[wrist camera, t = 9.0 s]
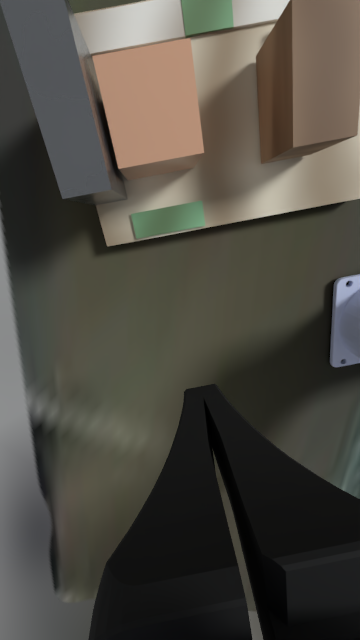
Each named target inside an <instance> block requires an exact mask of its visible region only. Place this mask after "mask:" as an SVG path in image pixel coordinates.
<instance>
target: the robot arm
mask: <svg viewBox="0 0 360 640" xmlns="http://www.w3.org/2000/svg"><path fill="white" fill-rule="evenodd" d="M348 281H349V284H348V285H347V286H346V283H347V282H348ZM341 360H343V361H341ZM357 363H360V274H357V275H352V276H347V277H342V278H338V279H337V280H336V281H335V282H334V289H333V309H332V328H331V348H330V364H331V365H332V366H333V367H342V366H347V365H352V364H357ZM212 448H213V450H212ZM213 451H214V454H215V457H216V460H217V463H218V466H219V470H220V473H221V476H222V479H223V482H224V485H225V488H226V491H227V494H228V497H229V500H230V503H231V507H232V510H233V514H234V518H235V522H236V526H237V530H238V534H239V538H240V542H241V547H242V551H243V555H244V559H245V563H246V567H247V572H248V576H249V580H250V584H251V588H252V593H253V597H254V601H255V605H256V610H257V614H258V618H259V622H260V626H261V631H262V635H263V639H264V640H360V499H358V498H356V497H354V496H352V495H350V494H349V493H347V492H345V491H343V490H341V489H339V488H337V487H336V486H334V485H332V484H331V483H329V482H327V481H326V480H324V479H322V478H321V477H319V476H317V475H316V474H314V473H313V472H311V471H310V470H308V469H307V468H305V467H304V466H302V465H301V464H299V463H298V462H296V461H295V460H293V459H292V458H291V457H289V456H288V455H287V454H285V453H284V452H283V451H281V450H280V449H279V448H277V447H276V446H275V445H274V444H272V443H271V442H270V441H269V440H267V439H266V438H265V437H264V436H263V435H262V434H260V433H259V432H258V431H257V430H256V429H255V428H254V427H253V426H252V425H251V424H250V423H249V422H248V421H247V420H246V419H245V418H244V417H243V416H242V415H241V414H240V413H239V412H238V411H237V410H236V409H235V408H234V407H233V406H232V404H231V403H230V402H229V401H228V400H227V398H226V397H225V396H224V395H223V393H222V392H221V391H220V389H219V388H218V386H217V385H215V384H211V385H206V386H201V387H196V388H191V389H186V390H185V392H184V403H183V409H182V414H181V418H180V422H179V426H178V429H177V432H176V435H175V438H174V441H173V444H172V447H171V450H170V453H169V455H168V458H167V460H166V462H165V465H164V467H163V469H162V471H161V473H160V475H159V478H158V480H157V482H156V484H155V486H154V488H153V490H152V492H151V493H150V495H149V497H148V499H147V501H146V502H145V504H144V506H143V507H142V509H141V511H140V513H139V514H138V516H137V518H136V519H135V521H134V523H133V524H132V526H131V527H130V529H129V531H128V532H127V533H126V535H125V536H124V538H123V539H122V541H121V542H120V544H119V545H118V547H117V548H116V550H115V551H114V553H113V554H112V555H111V557H110V558H109V560H108V561H107V563H106V566H105V569H104V572H103V575H102V578H101V582H100V585H99V589H98V593H97V597H96V601H95V605H94V609H93V615H92V621H91V628H90V634H89V640H252V634H251V628H250V622H249V615H248V608H247V603H246V598H245V594H244V589H243V585H242V580H241V576H240V572H239V567H238V563H237V559H236V555H235V551H234V547H233V543H232V539H231V535H230V531H229V527H228V523H227V519H226V515H225V511H224V507H223V503H222V498H221V494H220V490H219V486H218V482H217V478H216V473H215V465H214V458H213Z"/></svg>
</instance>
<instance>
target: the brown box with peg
mask: <svg viewBox="0 0 360 640" xmlns="http://www.w3.org/2000/svg"><path fill="white" fill-rule="evenodd" d="M256 72H257V92H258V113H259V133H260V153H261V164H265V163H270V162H275V161H280V160H286V159H291V158H296V157H301V156H307V155H311V154H313V153H316V152H318V151H321V150H323V149H326V148H328V147H330V146H333V145H335V144H338V143H340V142H343V141H345V140H347V139H350V138H352V137H355V136H357V134H358V120H359V106H360V0H290V1H289V2H288V4H287V6H286V7H285V9H284V11H283V12H282V14H281V16H280V17H279V19H278V21H277V22H276V24H275V25H274V27H273V29H272V30H271V32H270V34H269V35H268V37H267V39H266V40H265V42H264V44H263V45H262V47H261V49H260V50H259V52H258V53H257V55H256Z"/></svg>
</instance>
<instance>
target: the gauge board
mask: <svg viewBox="0 0 360 640" xmlns="http://www.w3.org/2000/svg"><path fill="white" fill-rule="evenodd" d="M289 1H290V0H147V1H141V2H136V3H130V4H125V5H119V6H114V7H109V8H103V9H98V10H92V11H87V12H81V13H76V14H74V16H75V18H76V21H77V23H78V25H79V28H80V30H81V33H82V35H83V37H84V40H85V42H86V45H87V47H88V49H89V52H90V54H91V57H92V56H95V55H100V54H106V53H111V52H117V51H122V50H127V49H133V48H138V47H144V46H149V45H154V44H160V43H165V42H171V41H176V40H181V39H187V38H190V39H191V47H192V55H193V64H194V72H195V80H196V89H197V97H198V105H199V114H200V122H201V130H202V139H203V147H204V154H203V155H202V157H201V158H200V159H199V161H198V162H197V164H196V165H195V166H194V168H191V169H186V170H181V171H175V172H170V173H165V174H159V175H154V176H149V177H144V178H138V179H133V180H127V179H126V177H125V176H124V175H123V174H122V176H123V180H124V185H125V189H126V193H127V198H128V199H127V200H122V201H116V202H111V203H106V204H101V205H96V208H97V211H98V215H99V219H100V222H101V226H102V230H103V233H104V237H105V241H106V244H107V247H108V246H114V245H119V244H124V243H129V242H135V241H140V240H145V239H150V238H156V237H161V236H166V235H171V234H176V233H182V232H187V231H192V230H197V229H203V228H208V227H213V226H218V225H224V224H229V223H234V222H239V221H244V220H250V219H255V218H260V217H265V216H271V215H276V214H281V213H286V212H292V211H297V210H302V209H307V208H312V207H318V206H323V205H328V204H333V203H339V202H344V201H349V200H354V199H360V106H359V120H358V134H357V136H355V137H352V138H350V139H347V140H345V141H343V142H340V143H338V144H335V145H333V146H330V147H328V148H326V149H323V150H321V151H318V152H316V153H313V154H311V155H307V156H301V157H296V158H291V159H286V160H280V161H275V162H270V163H265V164H261V153H260V133H259V113H258V92H257V72H256V55H257V53H258V52H259V50H260V49H261V47H262V45H263V44H264V42H265V40H266V39H267V37H268V35H269V34H270V32H271V30H272V29H273V27H274V25H275V24H276V22H277V21H278V19H279V17H280V16H281V14H282V12H283V11H284V9H285V7H286V6H287V4H288V2H289ZM92 59H93V57H92Z"/></svg>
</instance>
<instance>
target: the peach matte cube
mask: <svg viewBox="0 0 360 640" xmlns="http://www.w3.org/2000/svg"><path fill="white" fill-rule="evenodd" d="M92 57H93V61H94V66H95V70H96V74H97V79H98V83H99V87H100V92H101V96H102V100H103V104H104V109H105V113H106V117H107V122H108V126H109V130H110V135H111V139H112V143H113V147H114V152H115V156H116V160H117V165H118V169H119V170H120V171H121V173H122V174H123V175H124V176H125V177H126V179H127V180H133V179H138V178H144V177H149V176H154V175H159V174H165V173H170V172H175V171H181V170H186V169H191V168H194V166H195V165H196V164H197V162H198V161H199V159H200V158H201V157H202V155H203V154H204V147H203V139H202V130H201V122H200V114H199V105H198V97H197V89H196V80H195V72H194V64H193V55H192V47H191V39H190V38H187V39H181V40H176V41H171V42H165V43H160V44H154V45H149V46H144V47H138V48H133V49H127V50H122V51H117V52H111V53H106V54H100V55H95V56H92Z"/></svg>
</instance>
